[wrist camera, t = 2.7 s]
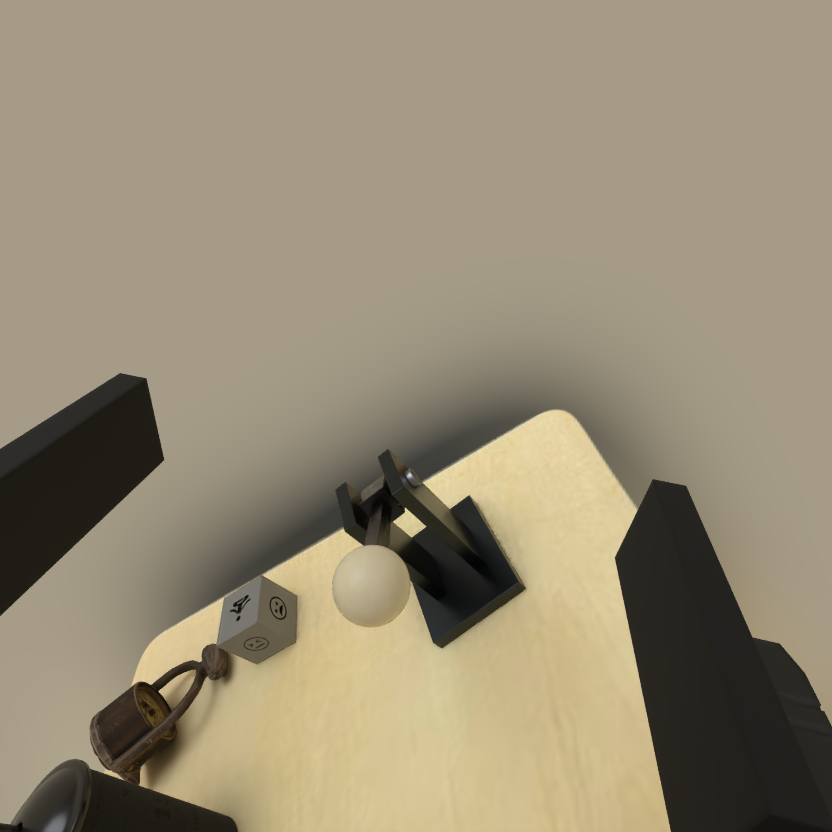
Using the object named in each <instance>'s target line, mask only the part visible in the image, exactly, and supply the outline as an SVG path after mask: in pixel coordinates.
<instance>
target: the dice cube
mask: <svg viewBox="0 0 832 832" xmlns="http://www.w3.org/2000/svg"><path fill="white" fill-rule="evenodd" d="M296 614H297V595H295V594H293V593H292V592H290V591H288V590H286V589H285V588H283V587H281V586H279V585H278V584H276V583H274V582H273V581H271V580H269V579H267V578H266V577H264V576H262V575H261V576H259V577H258V578H256V579H254V580H253V581H251V582H250V583H248V584H246V585H245V586H243V587H242V588H240V589H238V590H237V591H235V592H233V593H232V594H230V595H229V596H227V597H225V598H224V602H223V608H222V614H221V620H220V626H219V632H218V639H217V645H216V647H218V648H221V649H223V650H225V651H228V652H230V653H232V654H234V655H237V656H239V657H241V658H244V659H246V660H248V661H251V662H253V663H255V664H258V663H259V662H261V661H263V660H265V659H266V658H268V657H270V656H272V655H273V654H275V653H277V652H279V651H280V650H282V649H284V648H286V647H288V646H289V645H291V644H293V643H295V642H296Z"/></svg>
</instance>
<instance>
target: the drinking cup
mask: <svg viewBox="0 0 832 832" xmlns="http://www.w3.org/2000/svg"><path fill="white" fill-rule="evenodd" d="M0 832H237V827H236V825H235V822H234V821H233V820H232V819H231V818H230V817H228V816H226V815H223V814H220V813H217V812H214V811H211V810H208V809H205V808H202V807H199V806H197V805H194V804H191V803H188V802H185V801H182V800H179V799H176V798H173V797H170V796H168V795H165V794H162V793H159V792H156V791H153V790H150V789H147V788H144V787H141V786H139V785H136V784H133V783H130V782H127V781H124V780H121V779H118V778H115V777H112V776H110V775H107V774H104V773H101V772H98V771H95V770H92V769H90V768H89V766H88V765H87V763H85V762H84V761H82V760H78V759H72V760H68V761H65V762H63V763H61V764H60V765H58V766H57V767H56V768H54V769H53V770H52V771H51V772H50V773H49V774H48V775H47V776H46V777H45V778H44V779H43V780H42V781H41V782H40V784H39V785H38V786H37V787H36V788H35V790H34V791H33V792H32V794H31V795H30V796H29V798H28V799H27V800H26V802H25V803H24V804H23V806H22V807H21V809H20V810H19V811H18V813H17V814H16V816H15V817H14V819H13V820H12V822H11V824H2V823H0Z"/></svg>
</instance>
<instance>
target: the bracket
mask: <svg viewBox="0 0 832 832" xmlns="http://www.w3.org/2000/svg"><path fill="white" fill-rule="evenodd" d="M378 459H379V462H380V464H381V467H382V470H383V473H384V475H385V478H386V481H387V483H388V486H389V489H390V491H391V494H392V496H393V497H394V498H395V499H397V500H398V501H399V502H400V503H401V504H402V505H403V506H404V507H405V508H407V509H408V510H409V511H410V512H411V513H412V514H413V515H414V516H416V517H417V518H418V519H419V520H420V521H421V522H422V523H423V524H424V525H426V526H427V527H426V528H424V529H423V530H422V531H420V532H419V533H418V534H416V535H415V536H414V537H412V538H411V537H410V536H409V535H408V534H406V533H405V532H404V531H403V530H402V529H401V528H399V527H398V526H397V525H396V524H395V523H393V522H391V529H390V543H389V549H390V550H392V551H394V552H395V553H396V554H397V555H398V556H399V557H400V558H401V559H402V560H403V562H404V563H405V565H406V567H407V569H408V572H409V576H410V581H412V583H413V586H414V589H415V592H416V594H417V597H418V600H419V603H420V606H421V609H422V612H423V615H424V618H425V620H426V623H427V626H428V629H429V632H430V635H431V638H432V641H433V643H434V644H436V645H437V646H439V647H440V648H442V647H444V646H445V645H447V644H448V643H449V642H451V641H452V640H454V639H455V638H457V637H458V636H459V635H461V634H462V633H464V632H465V631H467V630H468V629H469V628H471V627H472V626H474V625H475V624H476V623H478V622H479V621H481V620H482V619H484V618H485V617H486V616H488V615H489V614H491V613H492V612H493V611H495V610H496V609H498V608H499V607H501V606H502V605H503V604H505V603H506V602H508V601H509V600H511V599H512V598H513V597H515V596H516V595H518V594H519V593H520V592H522V591H523V590H525V589H526V588H525V586H524V584H523V583H522V581H521V579H520V577H519V576H518V574H517V572H516V571H515V569H514V567H513V565H512V564H511V562H510V560H509V559H508V557H507V555H506V553H505V552H504V550H503V548H502V547H501V545H500V543H499V541H498V540H497V538H496V536H495V535H494V533H493V531H492V529H491V528H490V526H489V524H488V523H487V521H486V519H485V517H484V516H483V514H482V512H481V511H480V509H479V507H478V505H477V504H476V502H475V501H474V500H473V499H472V498H471V497H470V496H467V497H466V498H465V499H463V500H462V501H461V502H459V503H458V504H457V505H455V506H454V507H453V508H451V509H449V508H448V507H447V506H446V505H445V504H444V503H443V502H442V501H441V500H440V499H439V498H438V497H437V496H436V495H435V494H433V493H432V492H431V491H430V490H429V489H428V488H427V487H426V486H425V485H424V484H423V483H422V482H421V481H420V479H419V478H418V476H417V475H416V474H415V473H414V471H412V470H411V469H408V468H407V467H406V466H405V465H404V464H403V463H402V462H401V461H400V460H399V459H398V458H397V457H396V456H395V455H394V454H393V453H392V452H391V451H390V450H388V449H387V450H386V451H385V452H384V453H382V454H381V455H380V456H378ZM336 495H337V499H338V504H339V508H340V513H341V517H342V521H343V526H344V530H345V532H346V533H348V534H349V535H350V536H352V537H353V538H354V539H356V540H357V541H358V542H360V543H361V544H362V545H364V544H365V539H366V533H367V528H368V522H369V517H368V516H367V515H366V514H365V513H364V512H363V511H362V509H361V508H360V507H359V506H358V505H359V501H360V497H361V495H360V494H359V493H358V492H357V491H355V490H354V489H353V488H352V487H351V486H349V485H348V484H347V483H346V482H345V483H344V484H342V485H341V486H340V487H338V488H337V489H336Z"/></svg>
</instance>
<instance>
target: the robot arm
mask: <svg viewBox="0 0 832 832" xmlns="http://www.w3.org/2000/svg"><path fill="white" fill-rule="evenodd" d="M162 461H164V457H163V452H162V448H161V443H160V439H159V434H158V429H157V425H156V420H155V416H154V411H153V407H152V402H151V398H150V393H149V388H148V384H147V379H146V378H142V377H136V376H131V375H126V374H121V373H120V374H118V375H116V376H115V377H113V378H112V379H110V380H108V381H107V382H105V383H104V384H102V385H101V386H99V387H98V388H96V389H94V390H93V391H91V392H90V393H88V394H86V395H85V396H83V397H82V398H80V399H78V400H77V401H75V402H74V403H72V404H71V405H69V406H67V407H66V408H64V409H63V410H61V411H59V412H58V413H56V414H55V415H53V416H52V417H50V418H49V419H47V420H45V421H44V422H42V423H41V424H39V425H37V426H36V427H34V428H33V429H31V430H29V431H28V432H26V433H25V434H23V435H22V436H20V437H18V438H17V439H15V440H14V441H12V442H11V443H9V444H7V445H6V446H4V447H3V448H1V449H0V616H1V615H2V614H3V613H4V612H5V611H6V610H7V609H8V608H9V607H10V606H11V605H12V604H13V603H14V602H15V601H16V600H17V599H19V598H20V597H21V596H22V595H23V594H24V593H25V592H26V591H27V590H28V589H29V588H30V587H31V586H32V585H33V584H34V583H35V582H36V581H38V579H40V578H41V577H42V576H43V575H44V574H45V573H46V572H47V571H48V570H49V569H50V568H51V567H52V566H53V565H54V564H55V563H56V562H57V561H59V560H60V559H61V558H62V557H63V556H64V555H65V554H66V553H67V552H68V551H69V550H70V549H71V548H72V547H73V546H74V545H75V544H76V543H77V542H79V541H80V540H81V539H82V538H83V537H84V536H85V535H86V534H87V533H88V532H89V531H90V530H91V529H92V528H93V527H94V526H95V525H96V524H97V523H99V522H100V521H101V520H102V519H103V518H104V517H105V516H106V515H107V514H108V513H109V512H110V511H111V510H112V509H113V508H114V507H115V506H116V505H117V504H119V503H120V502H121V501H122V500H123V499H124V498H125V497H126V496H127V495H128V494H129V493H130V492H131V491H132V490H133V489H134V488H135V487H136V486H137V485H138V484H140V482H141V481H143V480H144V479H145V478H146V477H147V476H148V475H149V474H150V473H151V472H152V471H153V470H154V469H155V468H156V467H157V466H158V465H160V463H162ZM615 561H616V565H617V570H618V575H619V580H620V585H621V590H622V595H623V600H624V605H625V609H626V614H627V619H628V624H629V629H630V634H631V639H632V644H633V648H634V653H635V658H636V663H637V668H638V673H639V678H640V683H641V688H642V692H643V697H644V702H645V707H646V712H647V717H648V722H649V727H650V731H651V736H652V741H653V746H654V751H655V756H656V761H657V766H658V771H659V775H660V780H661V785H662V790H663V795H664V800H665V805H666V810H667V814H668V819H669V824H670V829H671V832H832V726H831V724H830V722H829V720H828V718H827V716H826V714H825V712H824V711H821V709H820V706H821V704H820V702H819V700H818V698H817V696H816V694H815V692H814V690H813V688H812V687H811V685H810V682H809V680H808V678H807V676H806V675H805V673H804V672H803V671H802V669H801V668H800V667H799V666H798V665H797V663H796V662H795V661H794V660H793V659H792V658H791V657H790V655H789V654H788V653H787V652H786V651H785V649H784V648H783V647H782V646H781V645H780V644H779V643H774V642H770V641H766V640H761V639H757V638H752V636H751V633H750V631H749V629H748V626H747V624H746V622H745V620H744V617H743V615H742V612H741V610H740V608H739V606H738V603H737V601H736V599H735V597H734V594H733V592H732V590H731V587H730V585H729V583H728V581H727V578H726V576H725V574H724V571H723V569H722V567H721V565H720V562H719V560H718V558H717V556H716V553H715V551H714V549H713V546H712V544H711V542H710V539H709V537H708V535H707V533H706V531H705V528H704V526H703V523H702V521H701V519H700V517H699V514H698V512H697V510H696V508H695V505H694V503H693V501H692V499H691V496H690V494H689V491H688V489H687V487H686V486H684V485H679V484H674V483H669V482H664V481H659V480H654V479H653V480H652V482H651V485H650V487H649V489H648V491H647V493H646V495H645V497H644V499H643V501H642V503H641V505H640V507H639V509H638V511H637V513H636V515H635V517H634V519H633V521H632V524H631V526H630V528H629V530H628V532H627V534H626V536H625V538H624V540H623V542H622V544H621V546H620V548H619V550H618V552H617V554H616V557H615Z"/></svg>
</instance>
